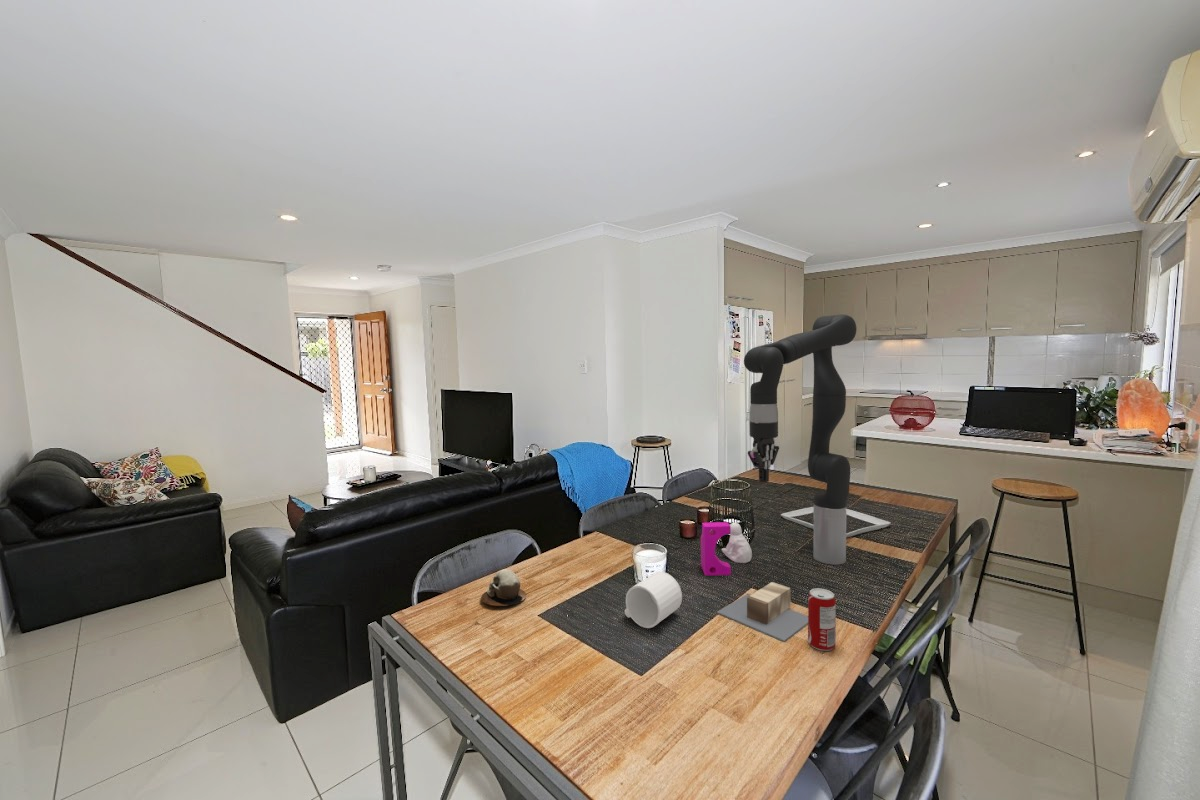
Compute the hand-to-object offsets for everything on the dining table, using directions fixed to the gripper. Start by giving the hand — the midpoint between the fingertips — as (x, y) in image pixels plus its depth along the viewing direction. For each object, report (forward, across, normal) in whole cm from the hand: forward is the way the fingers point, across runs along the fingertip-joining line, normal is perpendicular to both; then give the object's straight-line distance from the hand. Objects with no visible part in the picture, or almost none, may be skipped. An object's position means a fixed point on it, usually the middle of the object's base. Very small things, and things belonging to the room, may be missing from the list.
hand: (763, 481), depth 139 cm
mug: (+25, +32, -10) cm, 41 cm away
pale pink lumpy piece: (+29, -8, -14) cm, 33 cm away
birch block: (+26, +9, +10) cm, 29 cm away
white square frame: (+30, -61, -7) cm, 68 cm away
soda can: (+29, +19, +25) cm, 43 cm away
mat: (+29, +17, +10) cm, 35 cm away
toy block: (+22, +7, -16) cm, 28 cm away
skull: (+31, +62, -43) cm, 81 cm away
